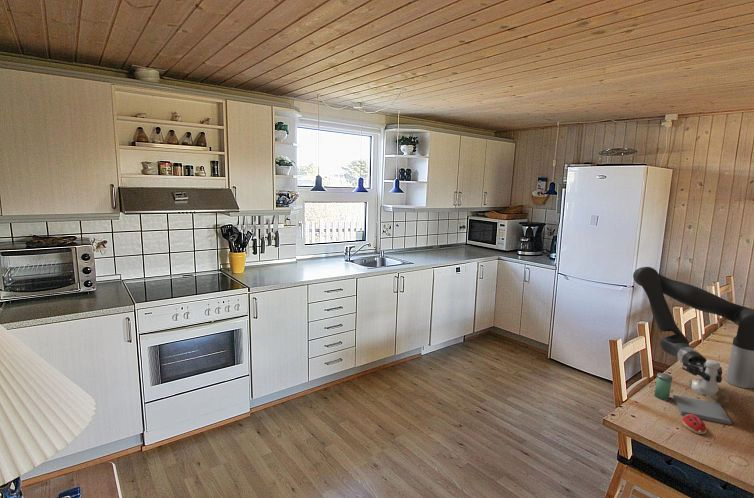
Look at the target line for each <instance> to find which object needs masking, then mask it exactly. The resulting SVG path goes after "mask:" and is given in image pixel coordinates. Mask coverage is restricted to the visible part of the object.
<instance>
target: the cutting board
mask: <svg viewBox="0 0 754 498" xmlns="http://www.w3.org/2000/svg"><path fill="white" fill-rule="evenodd" d="M672 399H673V401H674V404H675V405H676V406H677V407H676V408H677V409H678V411H679V413H680V415H681V416H683V417H684V416H685V415H688V414H693V415H695V416H697V417H698V418H700V419H701V420H704V421H710V422H714V423H720V424H725V425H729V426H730V425H731V424H732V420H731V419H730V417H729V416H728V414H727V413H726V411H725V410H724V408H723V406H721V405H720V404H719V403H714V402H709V401H708V400H702V399H698V398H692V397H688V396H687V397H686V396H682V395H681V396H680V395H675V394H673V396H672Z"/></svg>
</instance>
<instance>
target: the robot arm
mask: <svg viewBox="0 0 754 498" xmlns="http://www.w3.org/2000/svg"><path fill="white" fill-rule="evenodd" d="M632 278H633V281H634V282H635V283H636V284H637V285H638V286H641V287H642V288H643V289H642V290H644V292H645V295H646V296H647V299H648V302H649V305H650V309H651V312H652V313H651V314H652V316H653V319H654V321H655V324H656V327H657V328H658V330H659V331H660V332H665V333H666V332H671V333H673V334H672V335H668V336H664V337H662V338H661V339H660V340H659V346H660V348H661V349H662V350H663V351H664V352H665V353H666V354H668V355H671V356H673V357H676V358H677V359H679V361H680V363H681V364H682V367H681V369H682V370H684V371H686V372H687V373H689V374H691V375H692V376H698V377H700V378H701V379H702V378H703V379H705V380H706V381H710V376H709V375H708V374H707V373H705V370H706V368H707V366H706V365H705V363H706V361H707V360H708V359H707V358H705V356H703V355H702V354H701V353H700V352H699V351H698V350H696V349H695V348H693V347H692V346H690V342H689V340H688V338H687V337H686V336H685V334H683V332H682V331H681V329H680V328H679V326H678V325H677V324H676V321H675V319H674V316H673V314H672V311H671V309H670V308H669V305H668V303H667V300H666V298H665V295H666V296H667V297H669V298H671V299H674V300H675V301H677V302H679V303H681V304H683V305H685V306H687V307H690V308H693V309H695V310H697V311H699V312H700V311H701V312H704V313H707V314H713V315H716V316H719V317H722V318H724V319H727V320H728V321H730V322H732V323H734V324H735V325H737V326H738V327H737V332H736V335H735V336H734V337H733V339H732V345H731V348H730V350H731V351H730V354H729V355H730V357H729V361H728V367H727V370H726V372H727V373H726V378H725V381H726V382H727V383H729V384H730V385H733V386H736V387H739V388H743V389H754V309H753V308H749V307H746V306H743V305H740V304H736V303H735V302H731V301H729V300H726V299H724V298H723V297H720V296H718V295H716V294H713V293H712V292H710V291H708V290H705V289H702V287H701V288H700V287H697V286H695V285H693V284H688V283H686V282H682V281H677V280H676V279H675V280H674V279H671V278H668V277H666V276H664V275H662V274H660V273H658V271H657V269H655V268H654V267H651V266H643V267H639V268H637V269H636V270H635V271H634V272H633V275H632ZM717 373H718V375H717V382H718V384H721V382H722V380H723V377H722V375H723V368H722V366H720V368H719V369H717Z"/></svg>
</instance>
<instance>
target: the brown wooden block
mask: <svg viewBox="0 0 754 498" xmlns="http://www.w3.org/2000/svg"><path fill="white" fill-rule="evenodd" d="M705 400H706V401H709V402H714V403H719V404H720V405H721V407H728V406H729V402H730V396H729V395H727V394H726V393H725V392H723V391H721V390H719V389H718V392H717V393H716V394H715V395H712V396H710V395H706V396H705Z"/></svg>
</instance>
